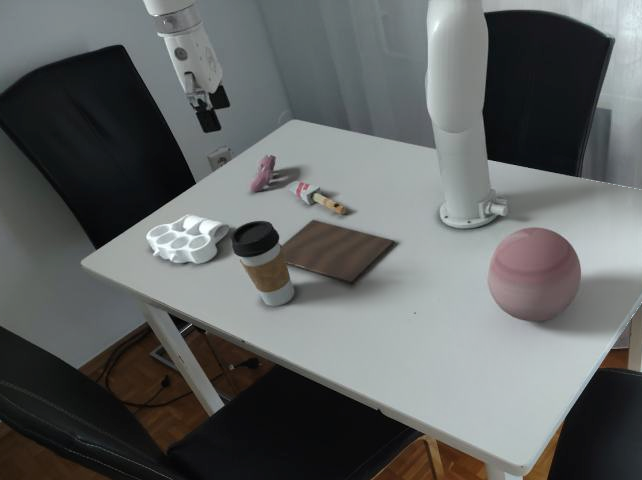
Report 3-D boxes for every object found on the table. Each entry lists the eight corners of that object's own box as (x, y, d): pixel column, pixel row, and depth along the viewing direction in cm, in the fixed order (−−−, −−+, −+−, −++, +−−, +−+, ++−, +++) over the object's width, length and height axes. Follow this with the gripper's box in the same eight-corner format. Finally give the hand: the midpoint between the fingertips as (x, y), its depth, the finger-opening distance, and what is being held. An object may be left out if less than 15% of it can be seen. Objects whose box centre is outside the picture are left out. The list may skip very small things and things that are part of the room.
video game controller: (268, 197, 153) (272, 172, 148) (249, 192, 152) (252, 166, 147) (276, 176, 160) (280, 151, 155) (257, 171, 159) (261, 146, 154)
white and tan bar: (294, 174, 149) (348, 201, 138) (298, 184, 151) (351, 212, 140) (281, 181, 147) (334, 210, 136) (285, 191, 149) (337, 220, 138)
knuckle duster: (241, 234, 140) (192, 274, 131) (187, 220, 148) (138, 256, 140) (236, 221, 137) (185, 261, 129) (181, 207, 146) (131, 243, 137)
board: (394, 243, 128) (393, 240, 128) (352, 285, 120) (351, 281, 120) (313, 222, 139) (312, 219, 138) (270, 259, 131) (268, 256, 130)
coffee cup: (280, 315, 117) (251, 249, 107) (248, 304, 121) (217, 239, 111) (309, 287, 122) (284, 221, 112) (277, 277, 126) (250, 213, 115)
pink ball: (514, 274, 115) (507, 202, 105) (594, 291, 109) (595, 217, 98) (476, 327, 107) (465, 255, 96) (560, 350, 100) (557, 275, 90)
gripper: (188, 32, 97) (230, 137, 109) (208, -1, 110) (244, 96, 122) (141, 41, 98) (188, 144, 110) (166, 7, 110) (206, 103, 122)
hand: (217, 119), depth 116 cm, fingers open, 9 cm apart
